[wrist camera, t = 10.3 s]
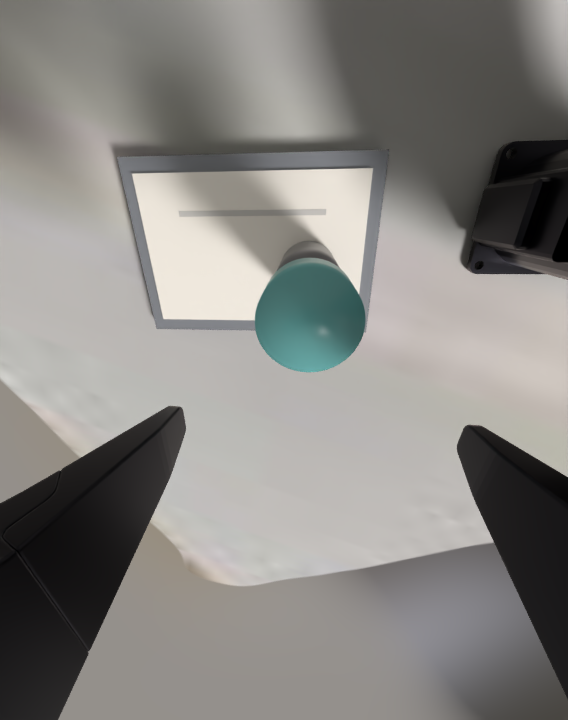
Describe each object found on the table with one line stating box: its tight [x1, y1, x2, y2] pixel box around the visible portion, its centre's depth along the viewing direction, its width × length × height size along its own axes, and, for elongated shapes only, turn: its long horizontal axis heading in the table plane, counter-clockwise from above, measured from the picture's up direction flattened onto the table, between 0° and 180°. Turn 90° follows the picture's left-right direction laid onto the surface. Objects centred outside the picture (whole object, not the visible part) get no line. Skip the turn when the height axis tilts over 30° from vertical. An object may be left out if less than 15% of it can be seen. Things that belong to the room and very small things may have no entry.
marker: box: [255, 241, 366, 372], centre depth 13 cm, size 4×4×9 cm
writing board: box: [117, 150, 389, 332], centre depth 18 cm, size 14×10×1 cm
